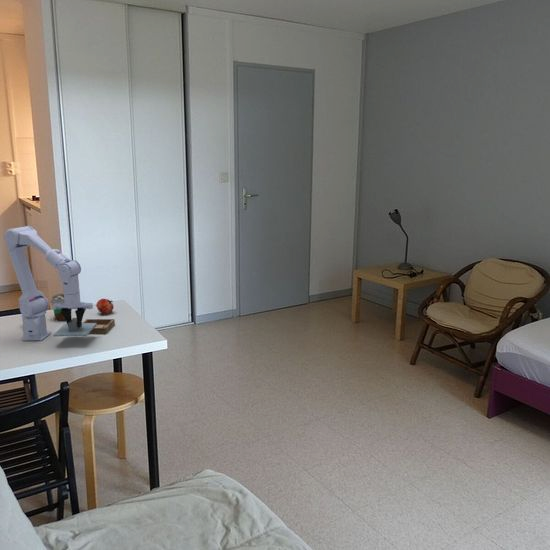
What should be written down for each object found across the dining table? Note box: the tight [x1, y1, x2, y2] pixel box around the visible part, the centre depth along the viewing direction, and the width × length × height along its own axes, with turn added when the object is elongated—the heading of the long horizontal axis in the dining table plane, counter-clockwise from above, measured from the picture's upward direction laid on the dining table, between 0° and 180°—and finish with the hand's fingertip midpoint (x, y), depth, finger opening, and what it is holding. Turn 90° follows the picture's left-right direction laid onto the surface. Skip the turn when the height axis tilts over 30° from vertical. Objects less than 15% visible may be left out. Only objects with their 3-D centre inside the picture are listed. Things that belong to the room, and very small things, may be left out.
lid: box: [52, 317, 97, 337], centre depth 205 cm, size 12×12×5 cm
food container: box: [50, 292, 66, 322], centre depth 234 cm, size 12×6×10 cm, turn 25°
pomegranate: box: [95, 298, 115, 315], centre depth 241 cm, size 7×7×10 cm
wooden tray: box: [82, 318, 116, 335], centre depth 221 cm, size 12×12×2 cm
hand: (74, 326), depth 205 cm, fingers closed on lid, 3 cm apart
